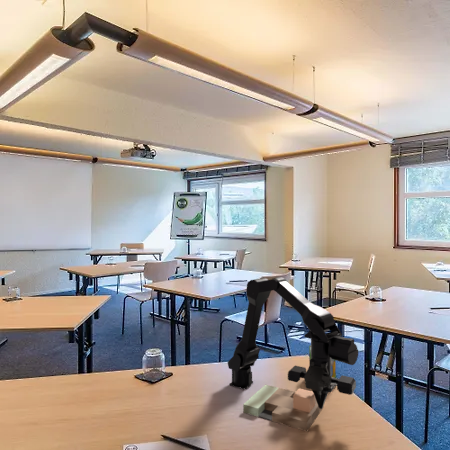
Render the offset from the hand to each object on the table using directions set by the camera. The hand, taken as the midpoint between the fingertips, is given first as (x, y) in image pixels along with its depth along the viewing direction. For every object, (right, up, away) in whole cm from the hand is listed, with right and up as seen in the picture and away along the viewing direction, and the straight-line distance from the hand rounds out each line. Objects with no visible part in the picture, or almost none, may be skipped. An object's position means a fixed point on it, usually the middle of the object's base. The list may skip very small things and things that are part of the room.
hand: (320, 408), depth 106 cm
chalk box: (+8, -4, +27) cm, 28 cm away
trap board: (-10, -3, +6) cm, 12 cm away
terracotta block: (-4, -1, +3) cm, 5 cm away
